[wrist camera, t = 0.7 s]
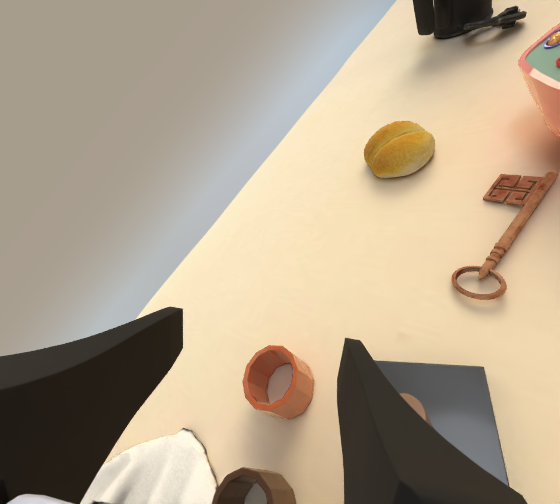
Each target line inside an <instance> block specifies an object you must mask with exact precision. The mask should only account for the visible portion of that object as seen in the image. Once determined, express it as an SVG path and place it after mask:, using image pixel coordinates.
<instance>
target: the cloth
mask: <svg viewBox="0 0 560 504" xmlns="http://www.w3.org/2000/svg"><path fill="white" fill-rule="evenodd" d="M217 489H218V486H217V482H216V479H215V476H214V474H213V472H212V470H211V468H210V465H209V462H208V458H207V455H206V450H205V448H204V447H203V445H202V444H201V442H199V441H198V440H197V439H196V438H195V437H194V435H193V433H192V431H190V430H188V429H185V428H183V429H182V430H181V431H179V432H178V433H177V434H175V435H172V436H162V437H160V438H158V439H155V440H151V441H146V442H144V443H142V444H139V445H136V446H133V447H131V448H129V449H127V450H126V451H124V452H123V453H121V454H119V455H117V456H115V457H114V458H113V459H112V460H110V461H109V462H108V463H106V464H104V465H102V467H101V468H100V470H99V472H98V473H97V475H96V477H95V478H94V480H93V482H92V484H91V485H90V487H89V489H88V491H87V492H86V494H85V496H84V498H83V499H82V501H81V503H80V504H212V501H213V497H214V494H215V492H216V490H217Z"/></svg>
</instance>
